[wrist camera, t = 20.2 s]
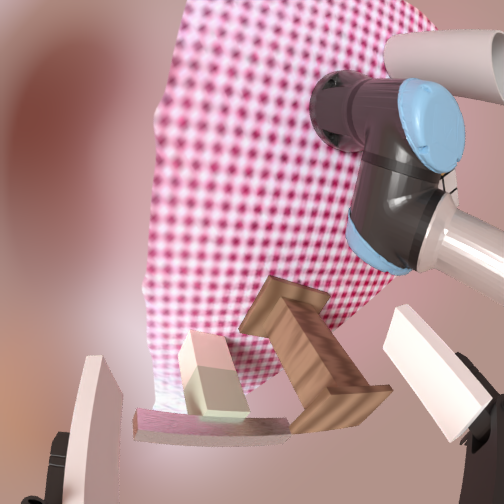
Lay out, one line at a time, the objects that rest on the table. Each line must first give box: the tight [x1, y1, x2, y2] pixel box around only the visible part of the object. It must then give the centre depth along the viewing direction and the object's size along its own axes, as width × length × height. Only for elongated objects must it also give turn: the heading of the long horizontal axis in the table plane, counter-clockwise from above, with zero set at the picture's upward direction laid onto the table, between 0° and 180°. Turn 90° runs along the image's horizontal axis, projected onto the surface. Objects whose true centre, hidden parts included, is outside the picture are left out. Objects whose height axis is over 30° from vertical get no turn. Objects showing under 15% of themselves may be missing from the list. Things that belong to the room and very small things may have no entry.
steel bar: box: [132, 408, 293, 447], centre depth 43 cm, size 28×4×4 cm, turn 63°
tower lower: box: [178, 330, 236, 390], centre depth 57 cm, size 8×8×10 cm
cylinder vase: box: [383, 29, 504, 105], centre depth 34 cm, size 12×12×25 cm
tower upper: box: [184, 365, 250, 418], centre depth 49 cm, size 8×8×10 cm
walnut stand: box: [238, 275, 393, 434], centre depth 52 cm, size 16×14×28 cm
